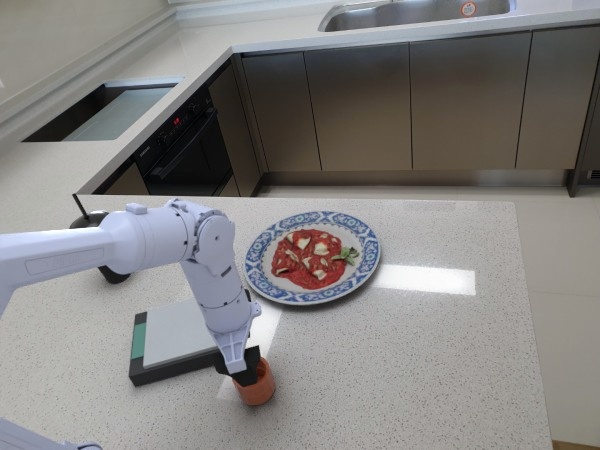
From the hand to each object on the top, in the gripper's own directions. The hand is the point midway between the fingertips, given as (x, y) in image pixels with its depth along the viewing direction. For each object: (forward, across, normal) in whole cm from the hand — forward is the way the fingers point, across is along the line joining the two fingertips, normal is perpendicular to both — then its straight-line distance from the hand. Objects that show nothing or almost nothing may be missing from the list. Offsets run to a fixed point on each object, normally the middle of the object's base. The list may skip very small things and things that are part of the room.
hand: (246, 359), depth 63 cm
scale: (+7, +13, +10) cm, 18 cm away
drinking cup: (+7, +35, +24) cm, 43 cm away
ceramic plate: (+8, +24, -14) cm, 29 cm away
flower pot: (+7, 0, 0) cm, 7 cm away
